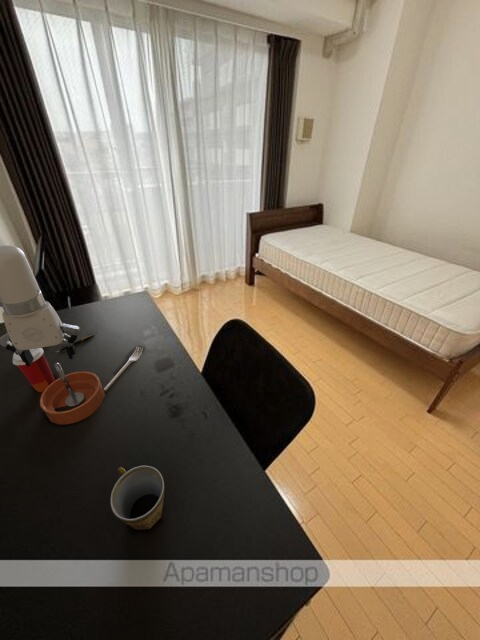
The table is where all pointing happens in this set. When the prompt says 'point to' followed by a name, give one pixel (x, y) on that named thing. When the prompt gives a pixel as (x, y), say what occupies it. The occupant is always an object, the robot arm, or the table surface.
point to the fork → (125, 366)
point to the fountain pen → (78, 342)
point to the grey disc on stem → (70, 391)
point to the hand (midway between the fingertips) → (52, 359)
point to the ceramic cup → (137, 495)
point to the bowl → (58, 394)
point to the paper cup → (36, 370)
